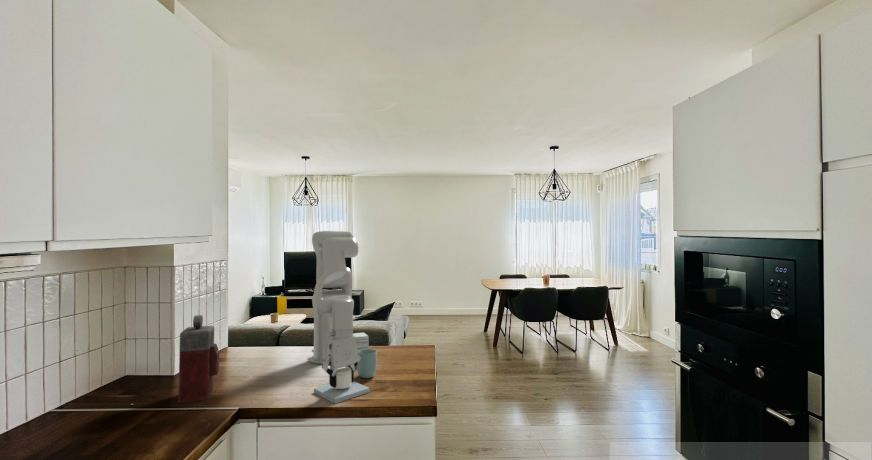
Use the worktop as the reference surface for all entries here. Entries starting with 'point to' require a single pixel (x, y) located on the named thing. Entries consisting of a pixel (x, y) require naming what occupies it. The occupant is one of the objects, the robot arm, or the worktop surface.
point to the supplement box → (361, 341)
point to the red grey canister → (197, 361)
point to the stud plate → (341, 392)
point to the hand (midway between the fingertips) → (341, 383)
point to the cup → (367, 363)
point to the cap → (343, 377)
